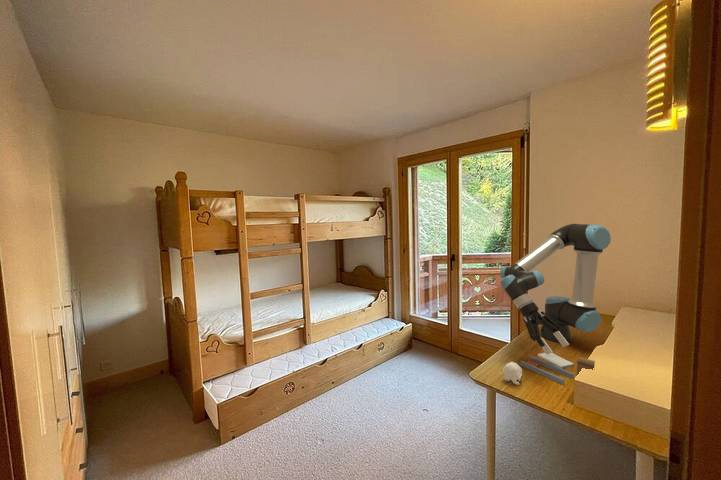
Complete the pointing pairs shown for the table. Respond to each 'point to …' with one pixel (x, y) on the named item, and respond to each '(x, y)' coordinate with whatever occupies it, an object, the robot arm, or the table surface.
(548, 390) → the table surface
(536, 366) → the pad
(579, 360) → the walnut block
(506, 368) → the white figurine
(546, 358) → the external hard drive
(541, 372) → the channel
